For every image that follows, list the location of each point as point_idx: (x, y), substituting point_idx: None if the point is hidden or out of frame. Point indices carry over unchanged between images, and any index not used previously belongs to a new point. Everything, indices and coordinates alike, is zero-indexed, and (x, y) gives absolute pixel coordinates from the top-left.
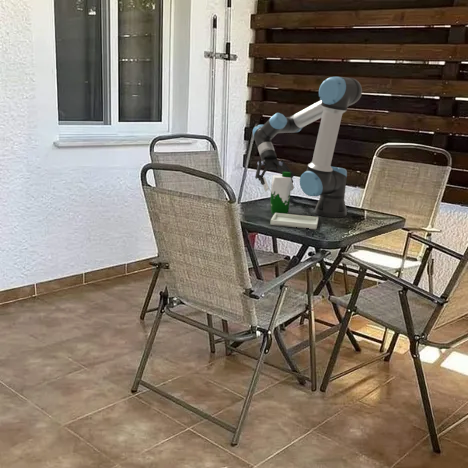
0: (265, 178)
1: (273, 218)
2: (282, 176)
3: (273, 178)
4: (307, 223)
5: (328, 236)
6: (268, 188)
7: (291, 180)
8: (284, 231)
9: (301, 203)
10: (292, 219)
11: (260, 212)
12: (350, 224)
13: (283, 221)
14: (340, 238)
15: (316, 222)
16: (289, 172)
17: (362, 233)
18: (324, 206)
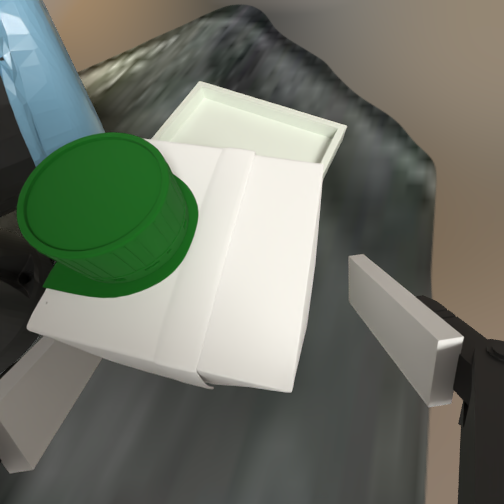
0: (417, 321)
1: (329, 145)
2: (195, 210)
3: (312, 258)
4: (225, 90)
5: (206, 45)
6: (349, 260)
7: (28, 353)
8: (314, 80)
9: None
10: None
11: (334, 358)
12: None
13: (301, 113)
14: (184, 33)
15: (185, 100)
16: (47, 188)
17: (90, 67)
18: (6, 250)
